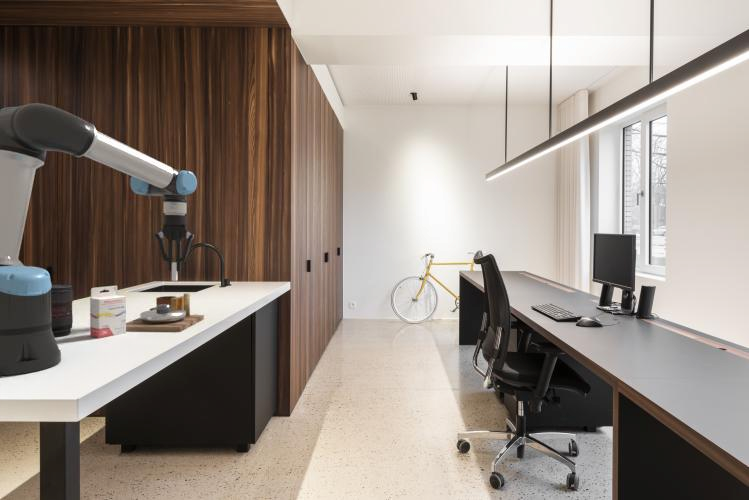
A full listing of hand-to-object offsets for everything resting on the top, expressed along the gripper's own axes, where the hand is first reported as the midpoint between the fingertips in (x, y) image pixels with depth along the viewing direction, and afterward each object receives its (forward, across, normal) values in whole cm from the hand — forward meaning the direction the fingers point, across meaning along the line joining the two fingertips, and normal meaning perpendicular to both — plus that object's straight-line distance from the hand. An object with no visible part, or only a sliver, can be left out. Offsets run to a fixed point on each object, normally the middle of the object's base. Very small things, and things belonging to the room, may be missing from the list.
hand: (174, 280), depth 163 cm
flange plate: (+12, -1, -6) cm, 14 cm away
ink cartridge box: (+15, -15, -20) cm, 29 cm away
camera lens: (+15, -30, -18) cm, 38 cm away
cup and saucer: (+14, -5, +14) cm, 21 cm away
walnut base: (+14, -2, -8) cm, 16 cm away
